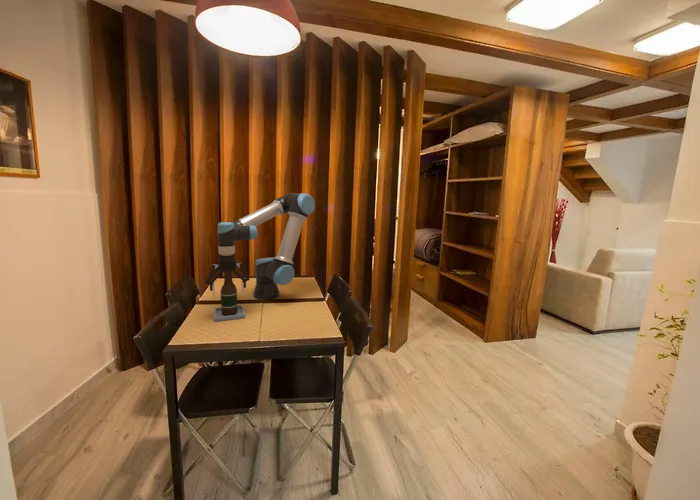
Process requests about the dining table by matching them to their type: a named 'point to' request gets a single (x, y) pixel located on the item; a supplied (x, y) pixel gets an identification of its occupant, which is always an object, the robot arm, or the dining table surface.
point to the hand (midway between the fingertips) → (228, 295)
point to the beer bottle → (228, 295)
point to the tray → (239, 315)
